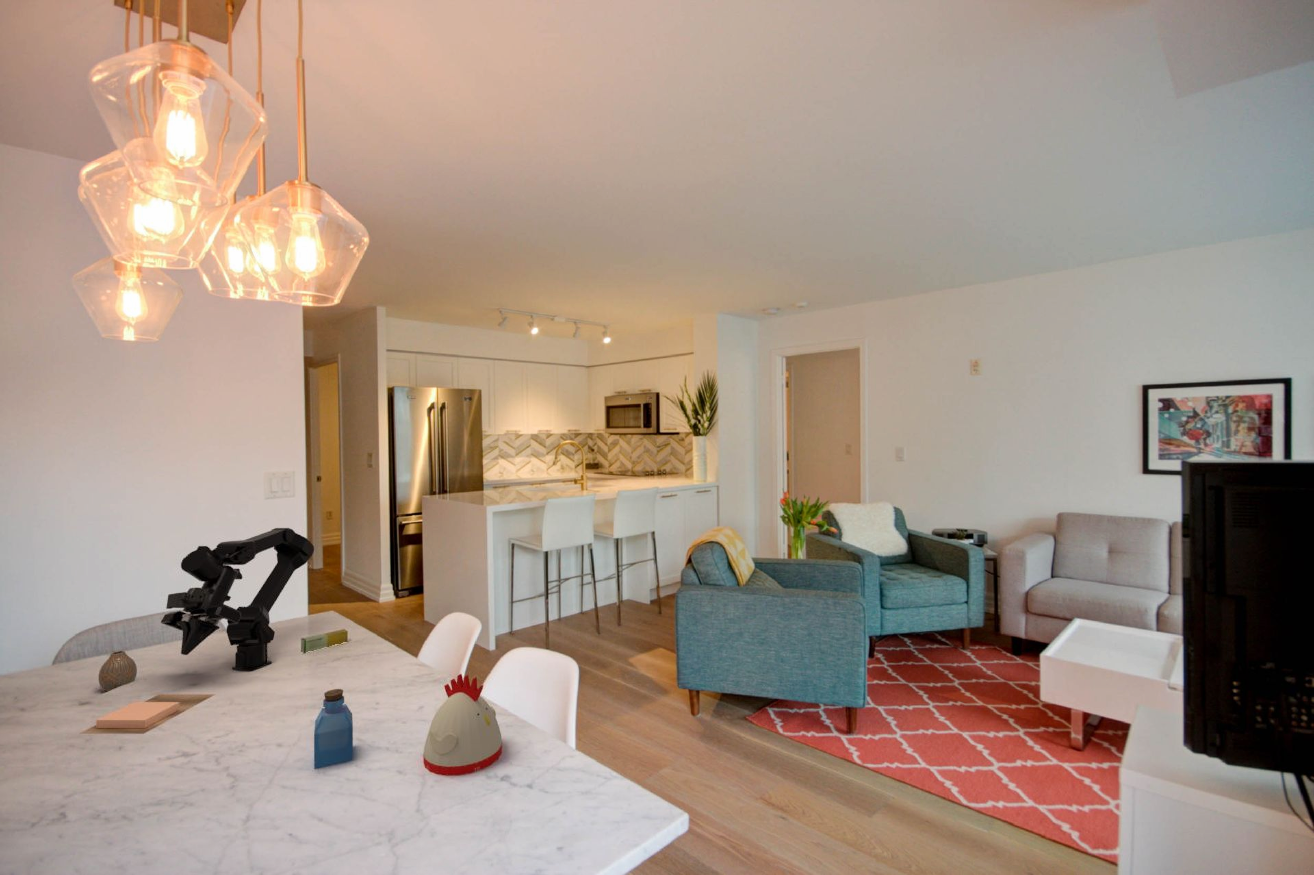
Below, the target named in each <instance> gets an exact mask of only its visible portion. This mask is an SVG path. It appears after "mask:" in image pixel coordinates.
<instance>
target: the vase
mask: <svg viewBox="0 0 1314 875" xmlns="http://www.w3.org/2000/svg"><path fill="white" fill-rule="evenodd" d="M98 672H99V673H98V683H99V684H98V685H99V686H100V687H101V689H102V690H103V691H105V692H107V693H108V692H111V691H112V690H115V689H117V688H119V687H121V686H125V685H129V684H131V683H133V682H135V680H136V678H137V672H138V668H137V664H136V662H135V661H134V659H133V658H132V657H131V656H129V655H128V654H127V653H126V651H125V650H118V651H113V652H111V653H110V656H109V657H108V658H107V659H106V661H104V663H103V664H102V665H101V667H100V669H99V671H98Z"/></svg>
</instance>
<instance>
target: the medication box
mask: <svg viewBox="0 0 1314 875" xmlns="http://www.w3.org/2000/svg"><path fill="white" fill-rule="evenodd" d="M348 633H349V631H348V630H347V629H345V628H342V629H339V630H334V631H328V632H324V633H321V634H315V635H311V636H307V637H301V638H300V653H301V652H303V653H302V654H307V653H306V652H308V651H313V652H315V651H314V650H317V649H321V648H324V647H329V646H332V645H335V644H341V643H343V642H348V637H349V636H348ZM341 645H342V644H341ZM329 648H330V647H329ZM321 650H322V649H321ZM317 651H318V650H317ZM308 653H309V652H308Z"/></svg>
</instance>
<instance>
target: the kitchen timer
mask: <svg viewBox="0 0 1314 875" xmlns="http://www.w3.org/2000/svg"><path fill="white" fill-rule="evenodd" d="M483 689H484V684H482V685H480V686H479V687H478V679H477V676H475V677H474V678H472V679H471V683H470V678H469V674H467V675H464V677H463V675H462V673H460V674H458V675H457V677H456V679H455V678H453V679H451V680H450V684H449V683H447V684H444V691H445V693H446V696H447V699H445V701H444V702H443V703H441V705H440V706H439V708H438V710H437V711H436V713H435V714H434V716H433V718H432V720H431V723H430V726H429V730H428V733H427V735H426V738H425V743H424V746H423V755H422V757H423V766H424V768H425V769H426V770H427V771H428V772H430V773H431V774H434V775H437V776H438V775H439V776H445V777H447V776H448V777H449V776H450V777H451V776H462V775H468V774H473V773H475V772H478V771H482V770H484V769H485V768H489V767H490V766H491V765H493V764H494V763H495V762H496V761H498V760H499V758H500V757H501V755H502V751H503V742H502V741H503V740H502V732H501V729H500V726H499V724H498V720H497V718H496V715H497V713H496V709H495V708H494V707H493V706H491V705H489V703H488V702H487V701H486V700H485V698H483V697H482V696H481V693H482V692H483Z"/></svg>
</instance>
